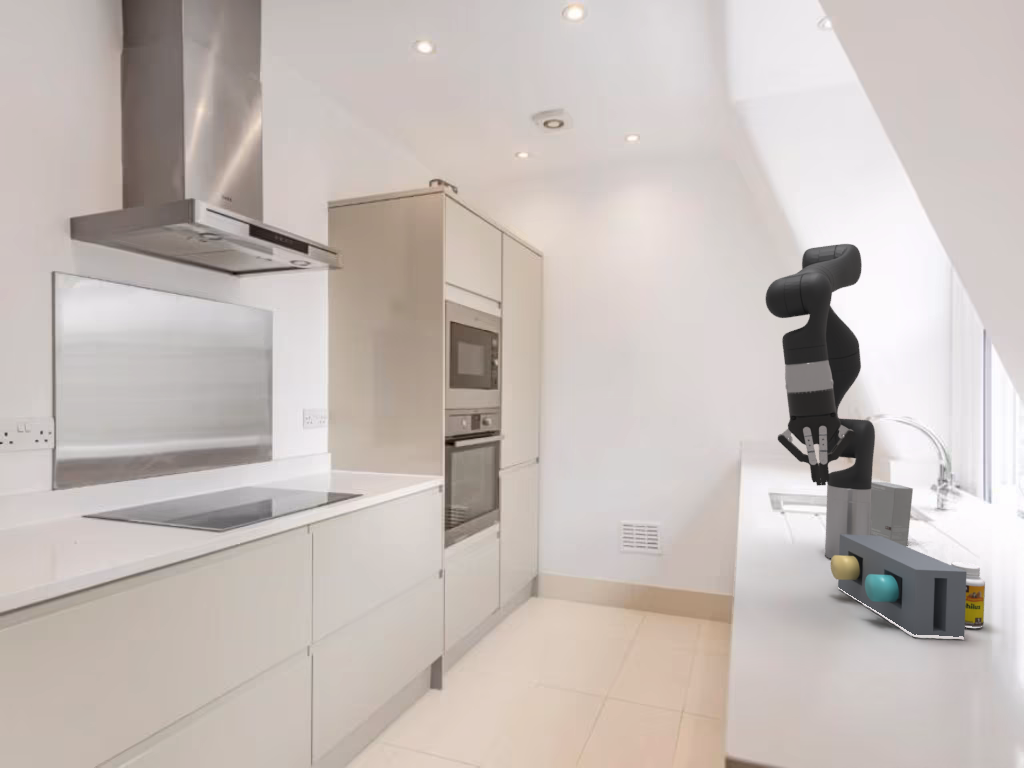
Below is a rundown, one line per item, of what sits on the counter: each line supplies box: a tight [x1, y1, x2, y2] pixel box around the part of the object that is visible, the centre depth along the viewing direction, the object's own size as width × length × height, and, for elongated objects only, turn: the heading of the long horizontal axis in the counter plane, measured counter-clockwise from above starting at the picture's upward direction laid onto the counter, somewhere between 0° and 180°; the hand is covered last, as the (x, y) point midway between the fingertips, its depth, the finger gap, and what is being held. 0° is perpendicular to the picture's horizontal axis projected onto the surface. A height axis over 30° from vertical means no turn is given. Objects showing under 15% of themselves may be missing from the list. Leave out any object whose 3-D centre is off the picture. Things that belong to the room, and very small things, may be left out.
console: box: [837, 534, 966, 638], centre depth 111 cm, size 8×24×11 cm, turn 179°
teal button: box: [865, 574, 899, 602], centre depth 105 cm, size 3×4×4 cm
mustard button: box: [830, 555, 860, 581], centre depth 117 cm, size 3×4×4 cm
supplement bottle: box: [950, 561, 986, 627], centre depth 106 cm, size 6×6×10 cm
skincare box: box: [870, 481, 914, 547], centre depth 165 cm, size 8×7×16 cm
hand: (820, 484), depth 110 cm, fingers closed
